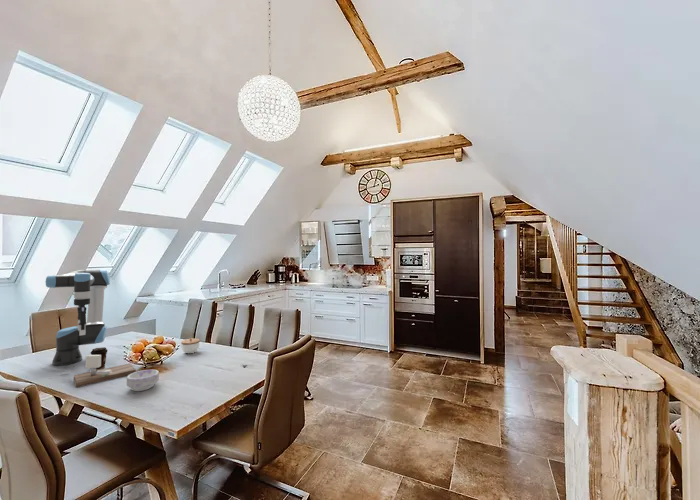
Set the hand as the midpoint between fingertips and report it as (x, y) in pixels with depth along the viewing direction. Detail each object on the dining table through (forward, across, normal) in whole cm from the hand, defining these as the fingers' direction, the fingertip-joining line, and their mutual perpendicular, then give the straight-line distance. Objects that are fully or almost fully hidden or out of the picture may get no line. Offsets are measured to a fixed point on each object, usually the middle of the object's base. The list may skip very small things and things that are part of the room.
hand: (81, 332), depth 187 cm
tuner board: (+27, +10, +11) cm, 31 cm away
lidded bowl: (+28, -2, +64) cm, 69 cm away
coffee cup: (+28, -9, +9) cm, 30 cm away
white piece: (+24, +12, +7) cm, 28 cm away
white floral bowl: (+26, +44, +24) cm, 56 cm away
